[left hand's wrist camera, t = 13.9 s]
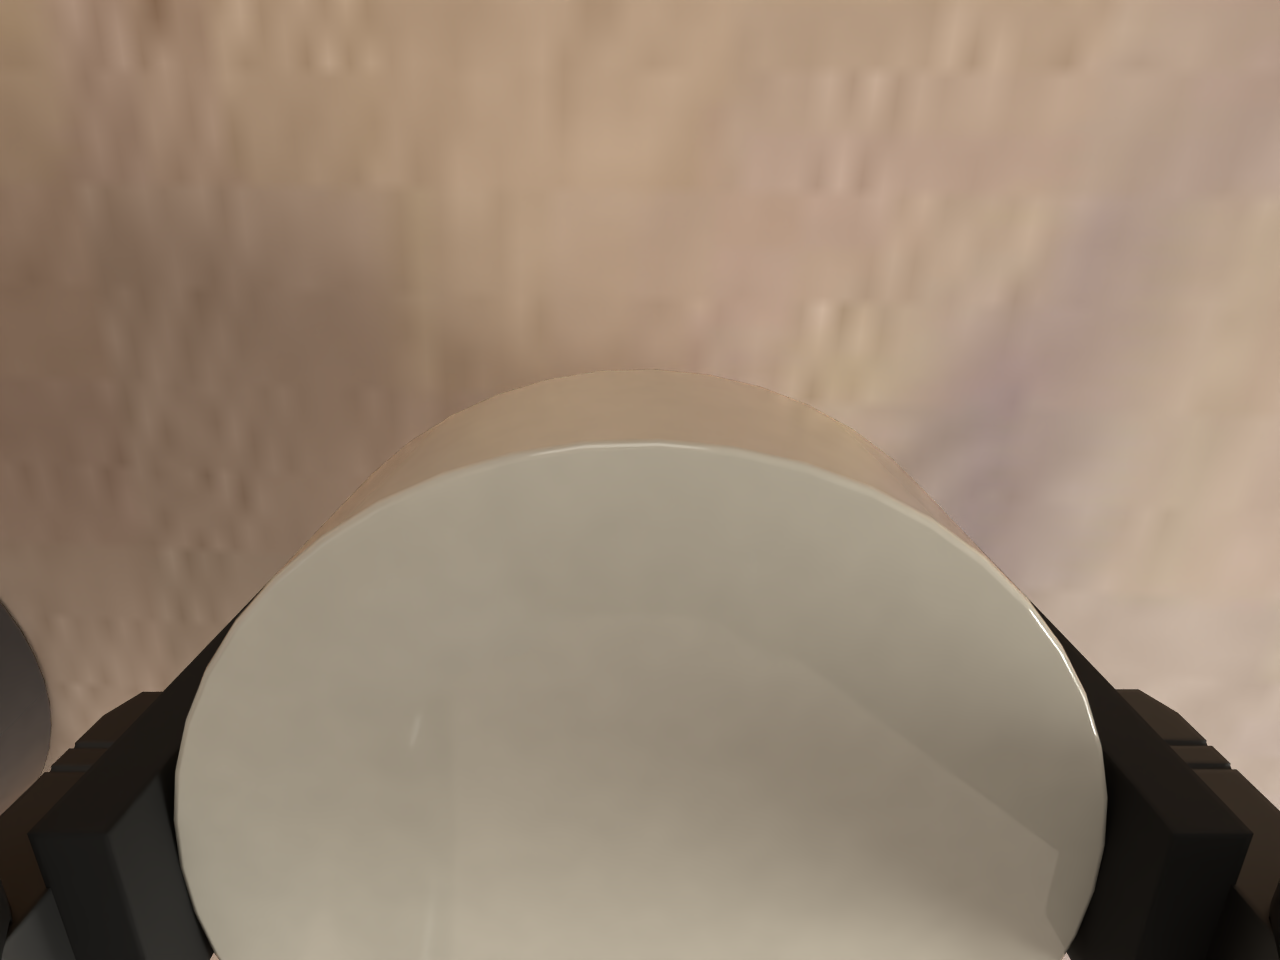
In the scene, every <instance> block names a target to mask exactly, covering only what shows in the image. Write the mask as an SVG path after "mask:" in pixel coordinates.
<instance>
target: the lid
mask: <svg viewBox="0 0 1280 960" xmlns="http://www.w3.org/2000/svg"><path fill="white" fill-rule="evenodd" d="M1107 799H1108V797H1107V788H1106V779H1105V771H1104V762H1103V753H1102V746H1101V742H1100V738H1099V735H1098V732H1097V728H1096V725H1095V722H1094V718H1093V715H1092V712H1091V708H1090V705H1089V701H1088V698H1087V695H1086V693H1085V691H1084V689H1083V687H1082V685H1081V683H1080V681H1079V679H1078V677H1077V674H1076V672H1075V670H1074V668H1073V666H1072V664H1071V662H1070V660H1069V658H1068V656H1067V654H1066V652H1065V650H1064V648H1063V646H1062V645H1061V643H1060V642H1059V641H1058V639H1057V638H1056V637H1055V635H1054V634H1053V632H1052V631H1051V630H1050V628H1049V627H1048V626H1047V624H1046V623H1045V621H1044V620H1043V619H1042V617H1041V616H1040V615H1039V613H1038V612H1037V610H1036V609H1035V608H1034V606H1033V605H1032V604H1031V602H1030V601H1029V599H1028V598H1027V597H1026V596H1025V595H1024V594H1023V593H1022V592H1021V591H1020V590H1019V589H1018V588H1017V587H1016V586H1015V585H1014V584H1013V583H1012V582H1011V581H1010V580H1009V579H1008V578H1007V576H1006V575H1005V574H1004V573H1003V572H1002V571H1001V570H1000V569H999V568H998V567H997V566H996V565H995V564H994V563H993V562H992V561H991V560H990V559H989V558H988V557H987V556H986V555H985V553H984V552H983V551H982V550H981V549H980V548H979V547H978V546H977V545H976V544H975V543H974V542H973V541H972V540H971V539H970V538H969V537H968V536H967V535H966V534H965V533H964V532H963V530H962V529H961V528H960V527H959V526H958V525H957V524H956V523H955V522H954V521H953V520H952V519H951V518H950V517H949V516H948V515H947V514H946V513H945V512H944V511H943V510H942V509H941V507H940V506H939V505H938V504H937V503H936V502H935V501H934V500H933V499H932V498H931V497H930V496H929V495H928V494H927V493H926V492H925V491H924V490H923V489H922V488H921V487H920V486H919V485H918V484H917V483H916V482H915V481H914V480H913V479H912V478H911V477H910V476H909V475H908V474H907V473H906V472H905V471H904V470H903V469H902V468H901V467H900V466H899V465H898V464H897V463H896V462H895V461H894V460H893V459H892V458H891V457H890V456H888V455H887V454H886V453H884V452H883V451H882V450H880V449H879V448H877V447H876V446H875V445H873V444H872V443H871V442H869V441H868V440H867V439H865V438H864V437H863V436H861V435H860V434H859V433H857V432H856V431H855V430H853V429H852V428H850V427H848V426H846V425H844V424H842V423H841V422H839V421H837V420H835V419H833V418H831V417H830V416H828V415H826V414H824V413H822V412H820V411H818V410H817V409H815V408H813V407H811V406H809V405H807V404H805V403H802V402H799V401H797V400H794V399H791V398H789V397H786V396H783V395H781V394H778V393H775V392H773V391H770V390H768V389H765V388H762V387H760V386H755V385H751V384H747V383H742V382H738V381H734V380H730V379H725V378H721V377H717V376H712V375H708V374H698V373H688V372H678V371H668V370H658V369H644V370H611V371H596V372H590V373H584V374H578V375H572V376H566V377H559V378H553V379H547V380H544V381H541V382H537V383H534V384H531V385H527V386H524V387H521V388H517V389H514V390H511V391H508V392H504V393H501V394H498V395H495V396H493V397H491V398H489V399H487V400H484V401H482V402H480V403H478V404H476V405H473V406H471V407H469V408H467V409H464V410H462V411H460V412H458V413H456V414H453V415H451V416H450V417H448V418H446V419H445V420H443V421H442V422H440V423H439V424H437V425H435V426H434V427H432V428H431V429H429V430H427V431H426V432H424V433H423V434H421V435H420V436H418V437H416V438H415V439H413V440H412V441H410V442H409V443H408V444H406V445H405V446H404V447H403V448H402V449H400V450H399V451H398V452H397V453H396V454H395V455H393V456H392V457H391V458H390V459H389V460H388V461H386V462H385V463H384V464H383V465H382V466H381V467H379V468H378V469H377V470H376V471H375V472H374V473H372V474H371V476H370V477H369V478H368V479H367V480H366V481H365V482H364V483H363V484H362V485H361V486H360V487H359V488H358V489H357V490H356V491H355V492H354V493H353V494H352V495H351V496H350V497H349V498H348V499H347V500H346V502H345V503H344V504H343V505H342V506H341V507H340V508H339V509H338V510H337V511H336V512H335V513H334V514H333V515H332V516H331V517H330V518H329V519H328V520H327V521H326V522H325V523H324V524H323V525H322V526H321V528H320V529H319V530H318V531H317V532H316V533H315V534H314V535H313V536H312V537H311V538H310V539H309V540H308V541H307V542H306V543H305V544H304V545H303V546H302V547H301V548H300V549H299V550H298V551H297V552H296V554H295V555H294V556H293V557H292V558H291V559H290V560H289V561H288V562H287V563H286V564H285V565H284V566H283V567H282V568H281V569H280V570H279V571H278V572H277V573H276V574H275V575H274V576H273V578H272V579H271V580H270V581H269V582H268V583H267V585H266V586H265V587H264V588H263V589H262V590H261V591H260V593H259V594H258V595H257V596H256V597H255V598H254V600H253V601H252V602H251V603H250V604H249V605H248V606H247V608H246V609H245V610H244V611H243V612H242V613H241V615H240V616H239V617H238V618H237V619H236V620H235V622H234V623H233V625H232V627H231V628H230V630H229V632H228V633H227V635H226V636H225V638H224V640H223V641H222V643H221V645H220V646H219V648H218V650H217V651H216V653H215V654H214V656H213V658H212V659H211V661H210V663H209V664H208V666H207V667H206V670H205V672H204V675H203V677H202V680H201V682H200V685H199V687H198V690H197V692H196V695H195V697H194V700H193V702H192V705H191V707H190V710H189V712H188V715H187V717H186V722H185V726H184V731H183V736H182V741H181V746H180V750H179V755H178V760H177V765H176V770H175V796H174V825H175V832H176V839H177V847H178V854H179V861H180V867H181V871H182V874H183V877H184V880H185V883H186V887H187V890H188V893H189V896H190V899H191V903H192V906H193V909H194V912H195V914H196V916H197V918H198V920H199V922H200V924H201V926H202V928H203V930H204V932H205V935H206V937H207V939H208V941H209V943H210V945H211V947H212V949H213V951H214V953H215V955H216V956H217V957H218V959H219V960H1062V959H1063V957H1064V955H1065V954H1066V952H1067V950H1068V949H1069V947H1070V945H1071V944H1072V942H1073V940H1074V938H1075V937H1076V935H1077V933H1078V930H1079V928H1080V925H1081V923H1082V920H1083V918H1084V915H1085V913H1086V910H1087V908H1088V905H1089V903H1090V901H1091V898H1092V896H1093V893H1094V890H1095V886H1096V881H1097V877H1098V873H1099V868H1100V864H1101V860H1102V855H1103V851H1104V847H1105V833H1106V816H1107Z"/></svg>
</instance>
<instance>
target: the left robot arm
mask: <svg viewBox="0 0 1280 960" xmlns="http://www.w3.org/2000/svg"><path fill="white" fill-rule="evenodd" d="M985 555H986V554H985ZM986 556H987V555H986ZM987 557H988V556H987ZM988 558H989V557H988ZM989 559H990V558H989ZM1007 578H1008V577H1007ZM1008 579H1009V578H1008ZM1009 580H1010V579H1009ZM1010 581H1011V580H1010ZM1011 582H1012V581H1011ZM1012 583H1013V582H1012ZM1013 584H1014V583H1013ZM266 585H267V584H266ZM266 585H265V586H266ZM1014 585H1015V584H1014ZM265 586H264V587H265ZM264 587H263V588H264ZM263 588H262V589H263ZM262 589H261V590H262ZM261 590H260V591H261ZM260 591H259V592H258V593H257V594H256V596H257V595H258V594H259V593H260ZM256 596H255V597H256ZM255 597H254V598H255ZM254 598H253V599H252V600H251V601H250V602H249V603H248V604H247V605H246V606H245V607H244V608H243V609H242V610H241V611H240V612H239V613H238V614H237V615H236V616H235V617H234V618H233V619H232V620H231V622H230V623H229V624H228V625H227V626H226V627H225V628H224V629H223V630H222V631H221V632H220V633H219V634H218V635H217V636H216V637H215V638H214V639H213V640H212V641H211V642H210V643H209V644H208V645H207V647H206V648H205V649H204V650H203V651H202V652H201V653H200V654H199V655H198V656H197V657H196V658H195V659H194V660H193V661H192V662H191V663H190V664H189V665H188V666H187V667H186V668H185V669H184V670H183V671H182V673H181V674H180V675H179V676H178V677H177V678H176V679H175V680H174V681H173V682H172V683H171V684H170V685H169V686H168V687H167V688H166V689H165V690H164V691H163V692H142V693H140V694H138V695H137V696H135V697H133V698H132V699H130V700H128V701H127V702H125V703H123V704H122V705H120V706H118V707H117V708H115V709H113V710H112V711H110V712H108V713H107V714H105V715H104V716H102V717H101V718H100V719H99V720H98V721H97V722H96V723H95V724H94V725H93V726H92V727H91V728H90V729H89V730H88V731H87V732H86V733H85V734H84V735H83V736H82V737H81V738H80V739H79V740H78V741H77V742H76V743H75V747H74V749H68V750H67V751H66V752H65V753H64V754H63V755H62V756H61V757H60V758H59V759H58V760H57V761H56V762H55V763H54V764H53V765H52V766H51V771H50V772H45V773H44V774H43V775H42V776H41V777H40V778H39V779H38V780H36V781H35V782H34V783H33V784H32V785H31V786H30V787H29V788H28V789H27V790H26V791H25V792H24V793H23V794H22V795H21V796H20V797H19V798H18V799H17V800H16V801H15V802H14V803H13V804H12V805H11V806H10V807H9V808H8V809H7V810H6V811H5V812H3V813H2V814H1V815H0V960H210V958H211V956H212V955H213V953H214V951H213V949H212V947H211V945H210V943H209V941H208V939H207V937H206V935H205V932H204V930H203V928H202V926H201V924H200V922H199V920H198V918H197V916H196V914H195V912H194V909H193V906H192V903H191V899H190V896H189V893H188V890H187V887H186V883H185V880H184V877H183V874H182V871H181V867H180V861H179V854H178V847H177V839H176V832H175V825H174V796H175V770H176V765H177V760H178V755H179V750H180V746H181V741H182V736H183V731H184V726H185V722H186V717H187V715H188V712H189V710H190V707H191V705H192V702H193V700H194V697H195V695H196V692H197V690H198V687H199V685H200V682H201V680H202V677H203V675H204V672H205V670H206V667H207V666H208V664H209V663H210V661H211V659H212V658H213V656H214V654H215V653H216V651H217V650H218V648H219V646H220V645H221V643H222V641H223V640H224V638H225V636H226V635H227V633H228V632H229V630H230V628H231V627H232V625H233V623H234V622H235V620H236V619H237V618H238V617H239V616H240V615H241V613H242V612H243V611H244V610H245V609H246V608H247V606H248V605H249V604H250V603H251V602H252V601H253V600H254ZM1029 601H1030V600H1029ZM1030 602H1031V601H1030ZM1031 604H1032V605H1033V606H1034V608H1035V609H1036V610H1037V612H1038V613H1039V615H1040V616H1041V617H1042V619H1043V620H1044V621H1045V623H1046V624H1047V626H1048V627H1049V628H1050V630H1051V631H1052V632H1053V634H1054V635H1055V637H1056V638H1057V639H1058V641H1059V642H1060V643H1061V645H1062V646H1063V648H1064V650H1065V652H1066V654H1067V656H1068V658H1069V660H1070V662H1071V664H1072V666H1073V668H1074V670H1075V672H1076V674H1077V677H1078V679H1079V681H1080V683H1081V685H1082V687H1083V689H1084V691H1085V693H1086V695H1087V698H1088V701H1089V705H1090V708H1091V712H1092V715H1093V718H1094V722H1095V725H1096V728H1097V732H1098V735H1099V738H1100V742H1101V746H1102V753H1103V762H1104V771H1105V779H1106V788H1107V797H1108V799H1107V816H1106V833H1105V847H1104V851H1103V855H1102V860H1101V864H1100V868H1099V873H1098V877H1097V881H1096V886H1095V890H1094V893H1093V896H1092V898H1091V901H1090V903H1089V905H1088V908H1087V910H1086V913H1085V915H1084V918H1083V920H1082V923H1081V925H1080V928H1079V930H1078V933H1077V935H1076V937H1075V938H1074V940H1073V942H1072V944H1071V945H1070V947H1069V949H1068V950H1067V954H1068V955H1069V957H1070V959H1071V960H1280V811H1279V810H1278V809H1277V808H1276V807H1275V806H1274V805H1273V804H1272V803H1271V802H1270V801H1269V800H1268V799H1267V798H1266V797H1265V796H1264V795H1262V794H1261V793H1260V792H1259V791H1258V790H1257V789H1256V788H1255V787H1254V786H1253V785H1252V784H1251V783H1250V782H1249V781H1248V780H1247V779H1246V778H1245V777H1244V776H1243V775H1242V774H1241V773H1240V772H1239V771H1238V770H1232V769H1231V767H1230V763H1229V762H1228V761H1227V760H1226V759H1225V758H1224V757H1223V756H1222V755H1221V754H1220V753H1219V752H1218V751H1217V750H1216V749H1215V748H1214V747H1213V746H1207V743H1206V740H1205V739H1204V738H1203V737H1202V736H1201V735H1200V734H1199V733H1198V732H1197V731H1196V730H1195V729H1194V728H1193V727H1192V726H1191V725H1190V724H1189V723H1188V722H1187V721H1186V720H1185V719H1184V718H1183V717H1182V716H1181V715H1179V714H1178V713H1177V712H1175V711H1174V710H1172V709H1170V708H1169V707H1167V706H1165V705H1164V704H1162V703H1160V702H1159V701H1157V700H1155V699H1154V698H1152V697H1150V696H1149V695H1147V694H1145V693H1144V692H1142V691H1140V690H1139V689H1114V688H1113V686H1112V685H1111V684H1110V683H1109V682H1108V681H1107V680H1106V679H1105V678H1104V677H1103V676H1102V675H1101V674H1100V673H1099V672H1098V671H1097V670H1096V669H1095V668H1094V667H1093V666H1092V665H1091V664H1090V663H1089V662H1088V660H1087V659H1086V658H1085V657H1084V656H1083V655H1082V654H1081V653H1080V652H1079V651H1078V650H1077V649H1076V648H1075V647H1074V646H1073V645H1072V644H1071V643H1070V642H1069V641H1068V640H1067V639H1066V638H1065V637H1064V635H1063V634H1062V633H1061V632H1060V631H1059V630H1058V629H1057V628H1056V627H1055V626H1054V625H1053V624H1052V623H1051V622H1050V621H1049V620H1048V619H1047V618H1046V617H1045V616H1044V615H1043V614H1042V613H1041V612H1040V611H1039V609H1038V608H1037V607H1036V606H1035V605H1034V604H1033V603H1032V602H1031Z"/></svg>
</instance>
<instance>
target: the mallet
mask: <svg viewBox="0 0 1280 960" xmlns="http://www.w3.org/2000/svg"><path fill="white" fill-rule="evenodd" d="M50 736H51V715H50V703H49V698H48V694H47V690H46V686H45V682H44V678H43V676H42V673H41V671H40V668H39V666H38V663H37V660H36V658H35V655H34V653H33V652H32V650H31V648H30V646H29V644H28V642H27V641H26V639H25V637H24V635H23V633H22V632H21V630H20V628H19V627H18V626H17V624H16V623H15V621H14V620H13V619H12V617H11V616H10V614H9V613H8V611H7V610H6V609H5V607H4V606H3V605H2V604H1V602H0V815H1V814H2V813H3V812H5V811H6V810H7V809H8V808H9V807H10V806H11V805H12V804H13V803H14V802H15V801H16V800H17V799H18V798H19V797H20V796H21V795H22V794H23V793H24V792H25V791H26V790H27V789H28V788H29V787H30V786H31V785H32V784H33V783H34V782H35V781H36V780H38V778H39V776H40V774H41V772H42V770H43V768H44V765H45V762H46V758H47V754H48V751H49V747H50Z"/></svg>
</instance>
